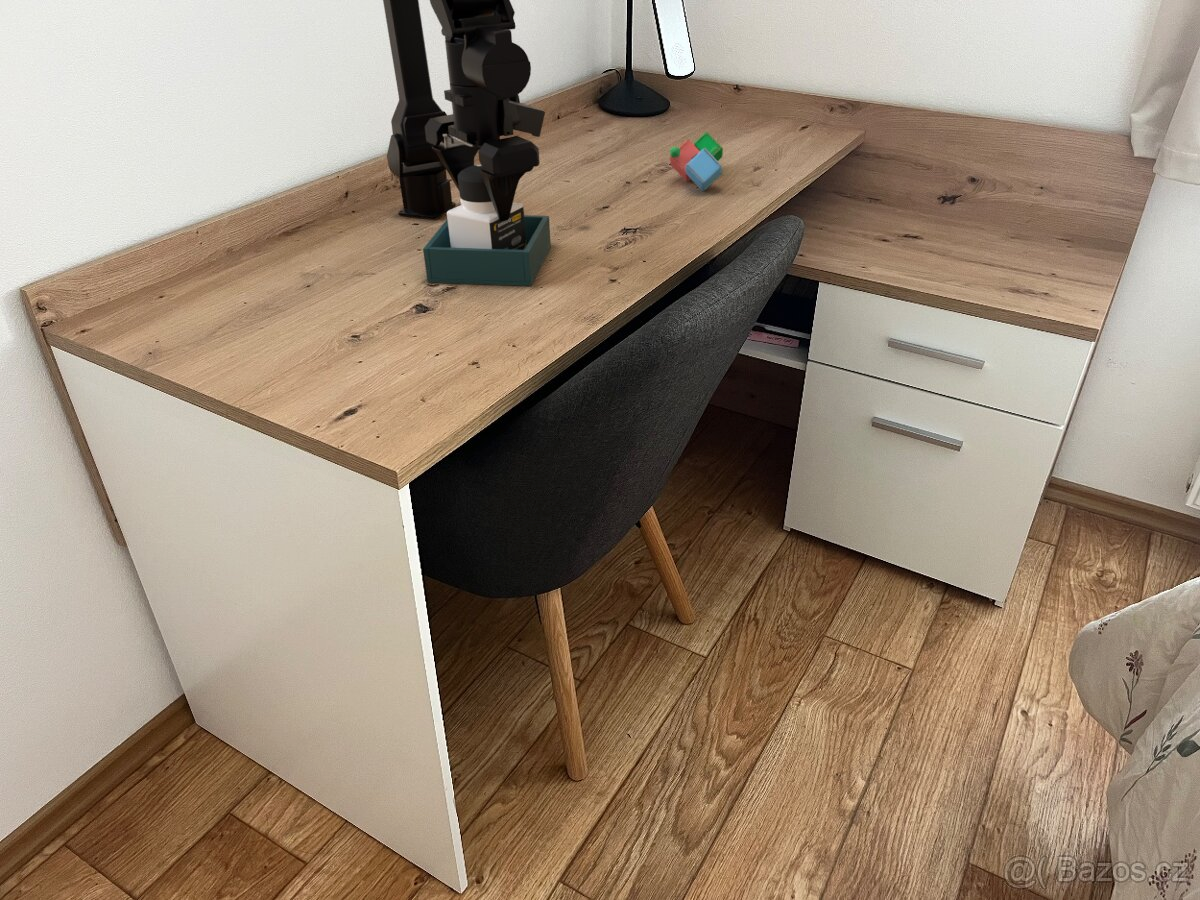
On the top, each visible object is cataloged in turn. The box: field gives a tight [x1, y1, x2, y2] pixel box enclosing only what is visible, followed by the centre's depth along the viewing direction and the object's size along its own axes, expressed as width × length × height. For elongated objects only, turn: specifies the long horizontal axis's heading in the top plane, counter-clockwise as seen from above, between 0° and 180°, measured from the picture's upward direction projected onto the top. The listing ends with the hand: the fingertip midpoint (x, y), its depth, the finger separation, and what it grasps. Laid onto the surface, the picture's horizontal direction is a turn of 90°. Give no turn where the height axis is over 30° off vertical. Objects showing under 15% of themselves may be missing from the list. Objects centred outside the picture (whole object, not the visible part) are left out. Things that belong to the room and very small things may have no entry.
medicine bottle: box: [446, 164, 526, 250], centre depth 120 cm, size 7×7×12 cm
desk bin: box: [422, 214, 552, 287], centre depth 122 cm, size 13×13×4 cm
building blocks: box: [669, 131, 724, 192], centre depth 148 cm, size 8×8×12 cm
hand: (486, 210), depth 119 cm, fingers open, 9 cm apart
